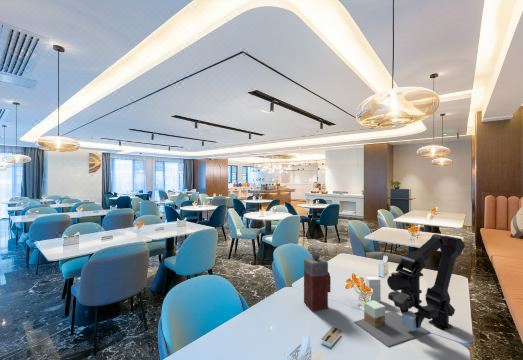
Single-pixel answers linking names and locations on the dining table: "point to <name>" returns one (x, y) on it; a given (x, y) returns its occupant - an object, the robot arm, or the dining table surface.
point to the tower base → (374, 320)
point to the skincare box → (374, 287)
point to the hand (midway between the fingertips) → (411, 324)
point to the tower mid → (374, 309)
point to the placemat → (391, 330)
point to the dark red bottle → (316, 282)
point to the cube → (409, 320)
